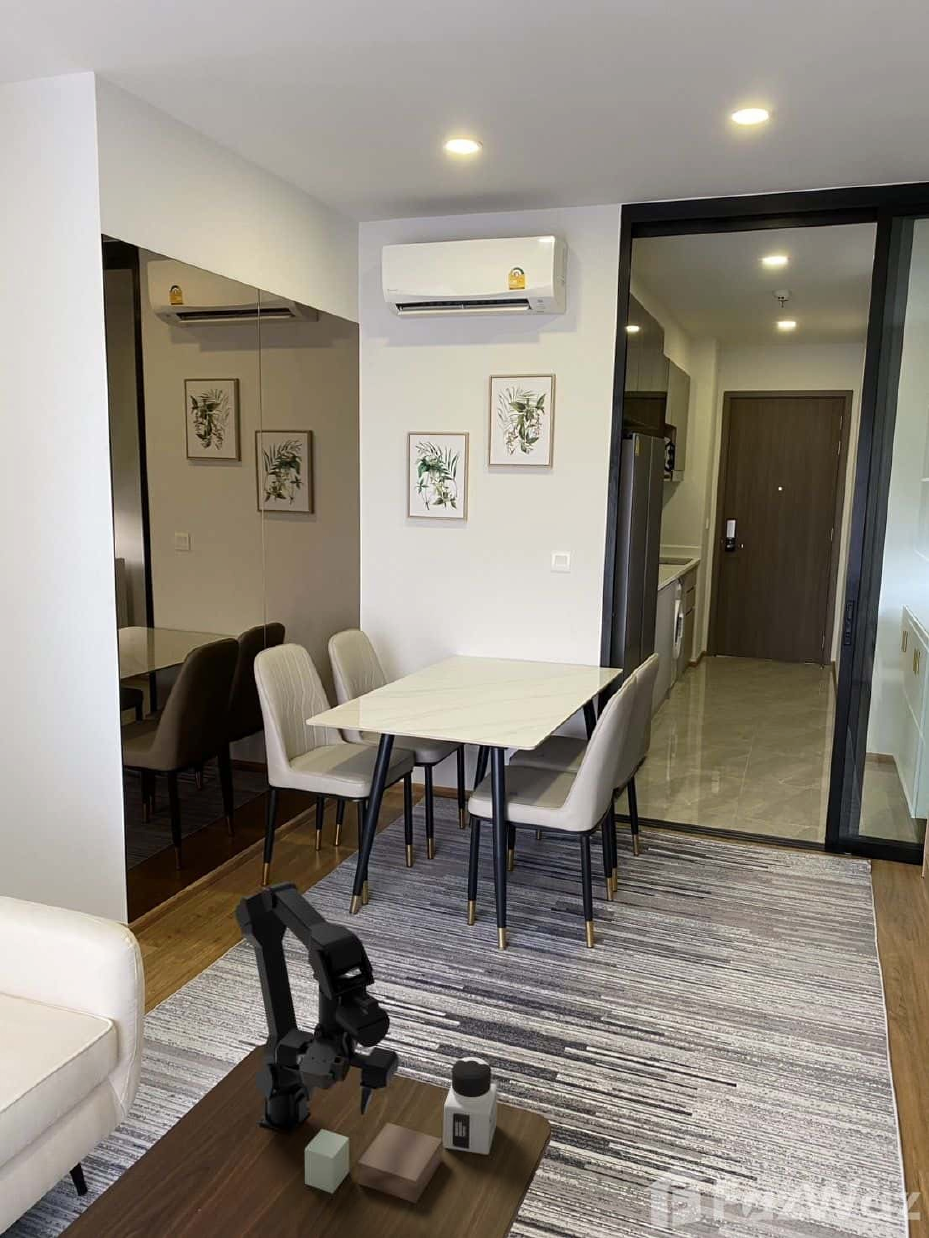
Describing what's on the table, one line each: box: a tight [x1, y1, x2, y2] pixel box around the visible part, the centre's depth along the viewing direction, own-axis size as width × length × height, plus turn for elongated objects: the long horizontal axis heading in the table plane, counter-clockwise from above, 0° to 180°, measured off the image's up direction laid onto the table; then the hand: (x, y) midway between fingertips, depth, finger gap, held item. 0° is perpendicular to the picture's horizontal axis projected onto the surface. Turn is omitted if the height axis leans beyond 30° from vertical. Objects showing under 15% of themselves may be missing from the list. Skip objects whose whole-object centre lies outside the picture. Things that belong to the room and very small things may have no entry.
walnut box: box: [357, 1122, 443, 1203], centre depth 147 cm, size 10×10×4 cm
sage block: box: [304, 1128, 350, 1194], centre depth 146 cm, size 5×5×6 cm
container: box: [442, 1056, 498, 1156], centre depth 155 cm, size 8×8×13 cm
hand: (336, 1106), depth 145 cm, fingers open, 9 cm apart
